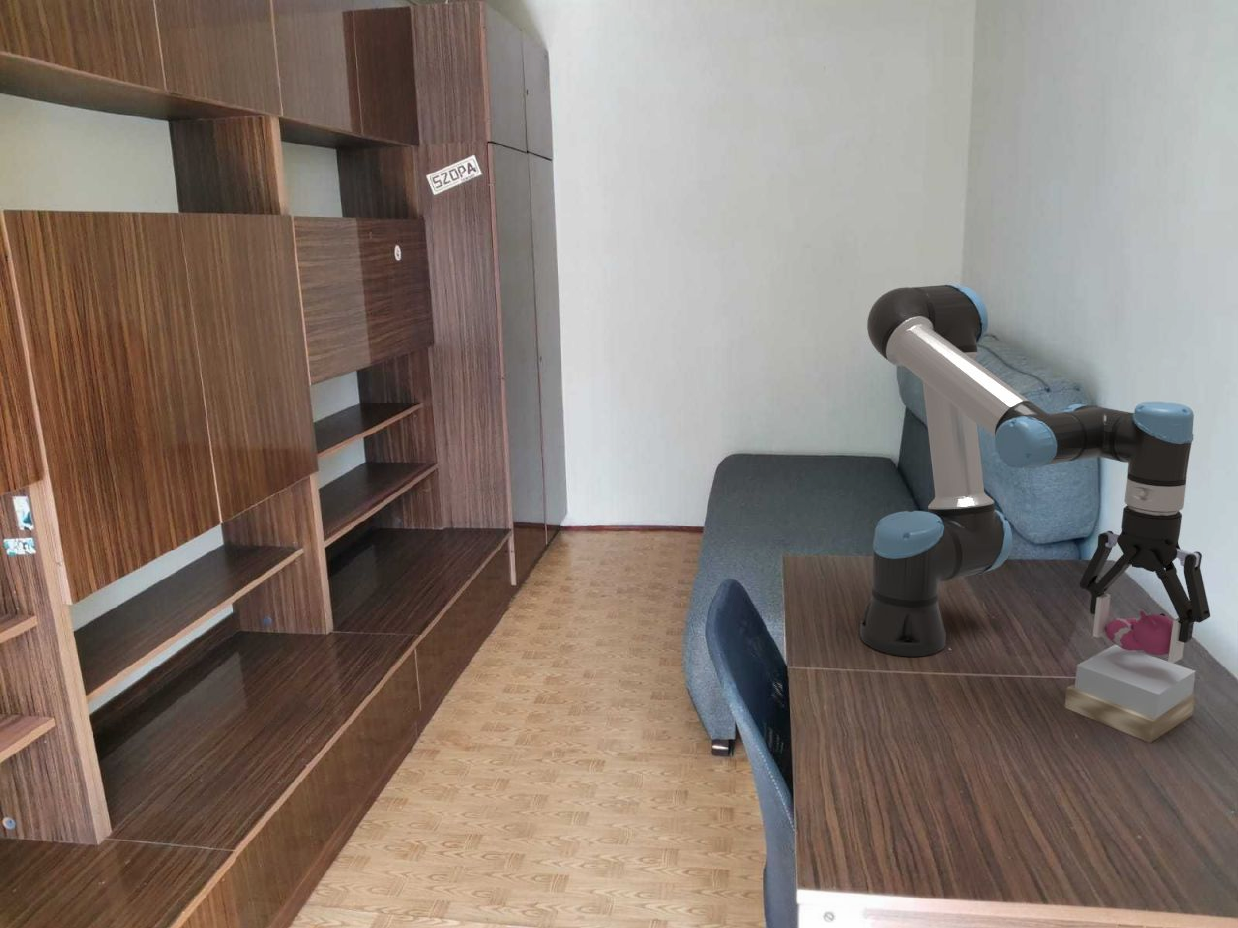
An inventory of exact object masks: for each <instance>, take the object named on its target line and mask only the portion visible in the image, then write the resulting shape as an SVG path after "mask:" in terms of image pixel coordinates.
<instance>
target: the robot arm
mask: <svg viewBox="0 0 1238 928" xmlns="http://www.w3.org/2000/svg"><path fill="white" fill-rule="evenodd" d="M870 308H871V309H870V311H869V313H868V317H867V323H866V325H867V327H866V330H867V336H868V338H869V340H870V343H871V345H872V346H873V347H874V349H875V350H876V351H877V353H878V354H880V355H881V357H883V359H885V360H887V362H889V363H890V364H892V365H893V366H896V367H905V368H907V369H908V370H909V371H910V372H912V374H914V375H915V376H917V377H918V378H919V379H920V380H921V381H922V386H923V388H922V389H923V397H924V403H925V404H924V405H925V412H926V413H925V415H926V422H927V432H928V442H929V450H930V459H931V465H932V466H931V467H932V475H933V476H932V478H933V485H934V494H935V497H934V498H933V500H932V501H931V502H930V503H929V504H928V507H927V508H928V511H923V510H913V511H908V510H905V511H898V512H894V513H890V514H888V515H886V516H885V517H883V518H881V519H880V520H879V521H878V523H877V524H876V526H875V529H874V539H873V542H872V549H873V555H872V556H873V557H872V559H873V561H872V579H871V580H872V583H871V597H870V600H869V603H868V605H867V607H866V609H865V611H864V613H863V616H862V619H861V622H860V628H859V637H860V639H861V641H862V642H863V643H864V644H865V645H867V646H868V647H870V648H872V649H874V650H876V651H878V652H882V653H885V654H888V655H894V656H900V657H925V656H930V655H934V654H937V653H939V652H940V651H943V649H945V646H946V636H947V633H946V628H945V626H944V622H943V619H942V615H941V614H942V613H941V611H940V606H939V589H940V583H941V582H945V581H949V580H954V579H960V578H964V577H967V576H968V577H969V576H981V575H982V574H985V573H987V572H989V571H992V570H995V569H997V568H999V567H1001V566H1002V565H1003V564H1004V562H1005V561H1006V560H1007V559H1008V557H1009V555H1010V553H1011V550H1012V545H1013V533H1012V528H1011V525H1010V523H1009V521H1008V520H1005V519H1006V518H1005V517H1006V516H1005V515H1004V514H1003V513H1001V512H1000V511H998V510H996V509H995V500H994V499H993V498H992V497H990V496H989V495H988V494H986V492H985V487H984V479H983V478H984V477H983V470H982V462H981V461H982V460H981V453H980V452H981V451H980V443H979V435H978V426H979V427H980V428H982V429H983V430H985V431H986V432H987V433H988V434H990V436H992V437H993V438H994V448H995V451H996V452H997V453H998V455H999V459H1000V460H1001V461H1002V462H1003V463H1004V464H1006V466H1009V467H1011V468H1015V469H1026V468H1028V469H1036V468H1042V467H1044V466H1049V465H1056V464H1061V463H1068V462H1073V461H1080V460H1086V459H1093V458H1102V459H1108V460H1112V461H1116V462H1120V463H1125V464H1126V463H1127V475H1126V476H1127V478H1126V484H1125V485H1126V486H1125V493H1124V504H1126V506H1125V507H1124V508H1123V511H1122V519H1121V527H1120V528H1121V532H1120V534H1118V533H1117V534H1116V533H1114V532H1113V531H1111V530H1107V531H1104V532H1102V533H1100V534H1098V535H1097V546H1096V549H1095V552H1094V554H1093V555H1092V558H1091V559H1090V561H1089V564H1088V566H1087V568H1086V569H1085V571H1084V574H1083V576H1082V577H1081V579H1080V582H1079V587H1080V588H1081V589H1082V590H1083V589H1084V590H1087V591H1088V592H1089V593H1090V596H1091V597H1090V606H1089V611H1090V614H1091V615H1094V621H1093V629H1092V637H1094V638H1096V639H1098V638H1100V637H1102V636H1104V635H1106V628H1107V626H1108V622H1109V621H1108V620H1109V612H1110V604H1111V603H1110V602H1111V594H1108V593H1105V592H1108V589H1109V588H1110V587H1111V586H1112V585H1113V584H1114V583H1115V582H1116V581H1117V580H1118V579H1119V577H1121V576H1122V575H1123V574H1124V573H1125V571H1127V570H1128V568H1129V567H1130V566H1131V567H1132V568H1137V569H1144V570H1146V571H1147V572H1151V573H1154V574H1155V575H1156V576H1157V578H1158V579H1159V580H1160V581H1161V583H1162V585H1163V587H1164V589H1165V592H1166V593H1167V595H1168V597H1169V600H1170V602H1171V604H1172V606H1173V608H1174V610H1175V612H1176V614H1177V616H1178V617H1177V618H1175V619H1174V620H1172V621H1173V627H1172V635H1171V643H1170V650H1169V653H1168V660H1167V661H1168V662H1171V663H1173V664H1176V663H1177V662H1178V661H1180V660H1182V659H1183V653H1184V648H1185V647H1184V646H1185V644H1186V643H1188V642H1189V641H1191V640H1192V638H1193V631H1194V624H1195V623H1203V621H1206V620H1207V619H1209V618H1210V617H1211V612H1210V611H1211V610H1210V606H1209V603H1208V596H1207V593H1206V589H1205V584H1204V579H1203V576H1202V572H1201V571H1202V570H1201V564H1202V558H1203V555H1202V553H1201V552H1200V551H1194V552H1191V551H1187V550H1183V549H1181V547H1180V545H1179V541H1180V540H1179V538H1180V535H1181V534H1180V533H1181V528H1182V527H1181V526H1182V518H1183V514H1182V513H1181V511H1182V510H1183V508H1184V506H1185V504H1184V503H1185V497H1186V495H1185V494H1186V488H1187V487H1186V486H1187V475H1188V474H1187V473H1188V468H1189V462H1190V461H1189V460H1190V454H1191V448H1192V442H1193V441H1194V433H1193V432H1194V417H1195V415H1194V412H1193V409H1191V408H1190V407H1189V406H1187V405H1185V404H1181V403H1176V402H1164V401H1145V402H1140V403H1139V404H1137V405H1136V406H1135V408H1134V412H1129V411H1126V410H1125V411H1124V410H1118V409H1114V408H1109V407H1108V408H1107V407H1103V406H1098V405H1096V404H1081V403H1075V404H1071V405H1070V404H1069V406H1067V407H1066V408H1065V409H1064V410H1062V411H1060V412H1055V413H1053V412H1052V413H1048V412H1046V411H1045V410H1043V409H1042V408H1041V407H1039V406H1038V405H1036V404H1034V403H1033V402H1032V401H1031V400H1029V399H1027V398H1026V397H1025V396H1024V395H1022V394H1021V393H1019V392H1018V391H1016V389H1014V388H1012V387H1011V386H1010V385H1008V384H1007V383H1005V381H1003V380H1002V379H1000V378H999V377H997V376H996V375H994V373H992V372H991V371H990V370H988V369H986V368H985V367H984V366H983V365H981V364H980V363H979V362H977V361H976V360H974V359H975V358H976V357H977V356H978V344H979V343H980V342H981V341H982V340H983V339H984V337H985V332H987V331H988V326H989V315H988V310H987V307H986V304H985V303H984V301H983V299H982V298H981V296H980V295H979V294H978V293H976V292H975V291H974V290H973V289H972V288H970V287H967V286H963V285H951V284H943V285H942V284H941V285H929V286H918V287H917V286H915V287H900V288H899V287H898V288H893V289H891V290H889V291H887V292H885V293H884V294H882V295H881V296H880V297H879V298H878V299H877V300H876V301H875V302H874V303H873V305H872V306H871V307H870ZM1117 544H1118V546H1119V549H1120V550H1121V553H1122V555H1121V556H1120V557H1119V558H1118V559H1117V560H1116V562H1115V563H1114V564H1113V566H1111V568H1110V569H1109V570H1108V571H1107V572H1106V573H1105V574H1104V575H1103V576H1102V577H1101V578H1100V579H1099V580H1098V578H1099V576H1100V574H1101V572H1102V570H1103V568H1104V567H1105V564H1106V562H1107V560H1108V558H1109V557H1110V554H1111V552H1112V549H1113V548H1114V547H1115V546H1117ZM1176 559H1179V561H1180V565H1181V566H1183V575H1184V581H1185V585H1186V589H1187V593H1186V590H1185V588H1184V587H1183V583H1182V582H1181V581H1180V578H1179V576H1178V574H1177V573H1178V569H1177V568H1176V565H1175V563H1174V561H1175V560H1176ZM1097 580H1098V581H1097ZM1187 594H1188V595H1187Z"/></svg>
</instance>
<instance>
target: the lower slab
mask: <svg viewBox="0 0 1238 928" xmlns="http://www.w3.org/2000/svg"><path fill="white" fill-rule="evenodd" d="M1065 690H1066V691H1065V692H1066V693H1065V701H1064V708H1065V709H1067V710H1070V711H1072V712H1074V713H1077V714H1080V715H1082V716H1085V717H1086V718H1089V719H1092V720H1093V721H1096V722H1099V723H1101V724H1103V725H1105V726H1109V727H1110V728H1113V729H1115V730H1119V731H1120V732H1123V733H1125V734H1128V735H1130V736H1133V737H1135V738H1138V739H1140V740H1141V741H1142V740H1143V741H1145V742H1147V743H1150V744H1151V743H1153V742H1154V741H1155V740H1157V739H1158V738H1161V737H1162V736H1163V735H1164V734H1167V732H1169V731H1171V730H1173V729H1174V728H1175V727H1176V726H1178V725H1180V724H1182V723H1183V722H1185V721H1186V720H1187V719H1189V718H1191V717H1192V716H1193V713H1194V706H1195V700H1196V699H1195V697H1196V695H1195V694H1192V695H1191V696H1190V697H1188V698H1187V699H1185V700H1184V701H1182V702H1181V703H1179V704H1178V705H1176V706H1175V707H1173V708H1172V709H1170V710H1169V711H1167V712H1166V713H1164V714H1163V715H1161V716H1160V717H1158V718H1157V719H1153V718H1150V717H1147V716H1145V715H1142V714H1140V713H1137V712H1134V711H1132V710H1129V709H1127V708H1124V707H1121V706H1119V705H1116V704H1114V703H1111V702H1108V701H1106V700H1103V699H1100V698H1098V697H1095V696H1093V695H1090V694H1087V693H1085V692H1082V691H1080V690H1077V689H1075V683H1073V684H1072V685H1069V686H1067V687H1066V689H1065Z"/></svg>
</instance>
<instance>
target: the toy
mask: <svg viewBox="0 0 1238 928" xmlns="http://www.w3.org/2000/svg"><path fill="white" fill-rule="evenodd" d="M1139 615H1140V617H1141V618H1132V617H1127V618H1121V617H1120V618H1119V617H1118V618H1114V619H1112V620H1111V621H1109V623H1107V628H1106V634H1105V636H1106V637H1107V638H1108V639H1109V640H1110V641H1111V642H1113V644H1114V645H1115V644H1116V645H1118V646H1119V647H1121V648H1122V649H1125V650H1135V651H1143V652H1145V654H1146V653H1147V654H1148V655H1151V656H1165V655H1169V650H1170V643H1171V635H1172V627H1173V620H1172V619H1171V618H1169V617H1168V616H1166V614H1165V613H1163V612H1162V613H1159V614H1157V613H1153V614H1152V613H1151V614H1146V613H1145V611H1144V610H1142V609H1141V610H1139Z"/></svg>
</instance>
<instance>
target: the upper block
mask: <svg viewBox="0 0 1238 928" xmlns="http://www.w3.org/2000/svg"><path fill="white" fill-rule="evenodd" d="M1196 673H1197V671H1196V670H1194V669H1191V668H1189V667H1186V666H1182V665H1179V664H1176V663H1171V662H1168V660H1164V659H1161V658H1157V657H1155V656H1154V655H1151V654H1148V653H1147V654H1146V653H1143V652H1140V651H1139V650H1125V649H1122V648H1121V647H1119V646H1118V645H1116V644H1115V643H1114V644H1113V645H1112V646H1110V647H1108V648H1106V649H1104V650H1102V651H1100V652H1099V653H1096V654H1095V655H1092V656H1091V657H1089V658H1087V659H1086V660H1084V661H1082V662H1080V663H1079V664H1076V673H1075V679H1074V681H1075V682H1074V684H1075V689H1077V690H1080V691H1082V692H1085V693H1087V694H1090V695H1093V696H1095V697H1098V698H1100V699H1103V700H1106V701H1108V702H1111V703H1114V704H1116V705H1119V706H1121V707H1124V708H1127V709H1129V710H1132V711H1134V712H1137V713H1140V714H1142V715H1145V716H1147V717H1150V718H1153V719H1157V718H1158V717H1160V716H1161V715H1163V714H1164V713H1166V712H1167V711H1169V710H1170V709H1172V708H1173V707H1175V706H1176V705H1178V704H1179V703H1181V702H1182V701H1184V700H1185V699H1187V698H1188V697H1190V696H1191V695H1193V693H1194V685H1195V678H1196Z"/></svg>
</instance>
